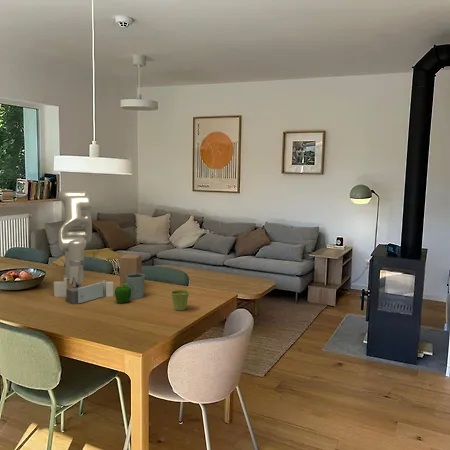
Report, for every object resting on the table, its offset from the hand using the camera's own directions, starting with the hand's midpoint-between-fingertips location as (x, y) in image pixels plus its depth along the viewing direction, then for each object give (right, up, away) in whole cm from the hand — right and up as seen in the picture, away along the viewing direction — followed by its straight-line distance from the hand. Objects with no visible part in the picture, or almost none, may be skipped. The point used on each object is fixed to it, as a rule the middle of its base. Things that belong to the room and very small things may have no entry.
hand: (77, 295), depth 243 cm
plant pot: (+58, -4, -18) cm, 60 cm away
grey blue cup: (+31, -1, +2) cm, 31 cm away
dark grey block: (+3, -2, -6) cm, 7 cm away
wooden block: (+26, +1, +16) cm, 30 cm away
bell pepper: (+26, -2, -8) cm, 28 cm away
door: (+10, -1, -6) cm, 12 cm away
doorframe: (+3, -1, +1) cm, 3 cm away
